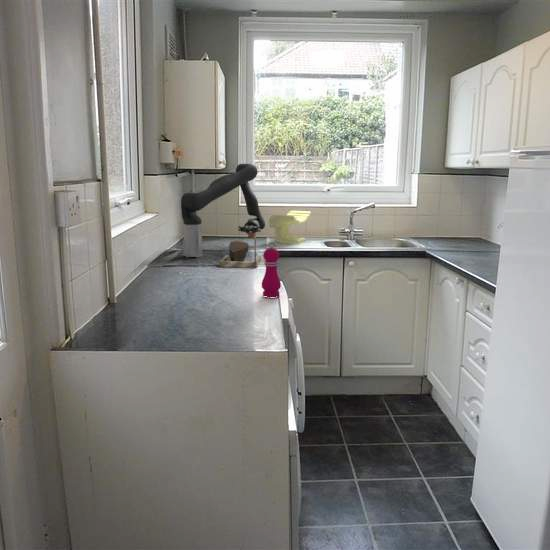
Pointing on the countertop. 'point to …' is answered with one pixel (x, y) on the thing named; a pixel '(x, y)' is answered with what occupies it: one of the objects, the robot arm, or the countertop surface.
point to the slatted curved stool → (284, 222)
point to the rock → (238, 250)
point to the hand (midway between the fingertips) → (246, 230)
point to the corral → (227, 263)
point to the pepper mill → (271, 273)
